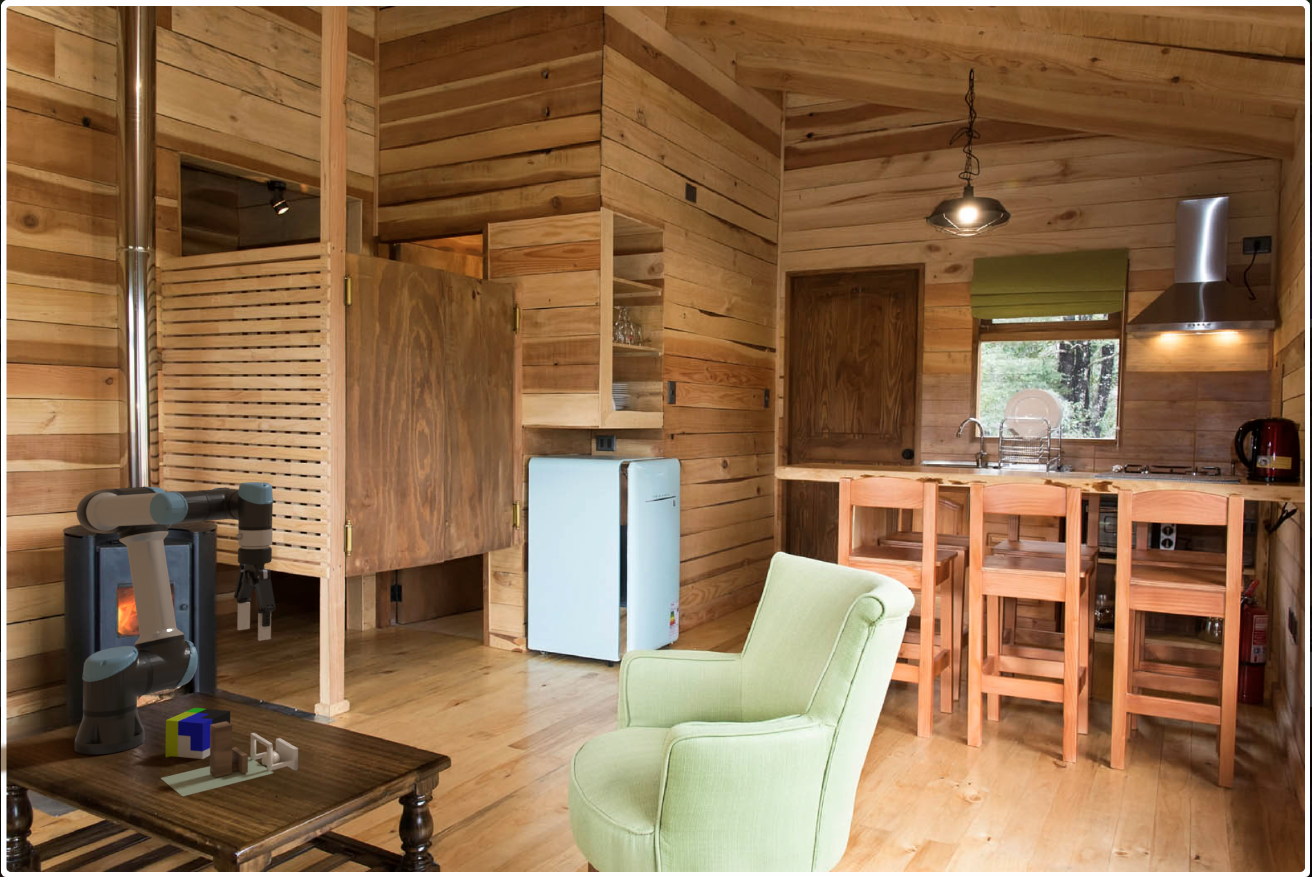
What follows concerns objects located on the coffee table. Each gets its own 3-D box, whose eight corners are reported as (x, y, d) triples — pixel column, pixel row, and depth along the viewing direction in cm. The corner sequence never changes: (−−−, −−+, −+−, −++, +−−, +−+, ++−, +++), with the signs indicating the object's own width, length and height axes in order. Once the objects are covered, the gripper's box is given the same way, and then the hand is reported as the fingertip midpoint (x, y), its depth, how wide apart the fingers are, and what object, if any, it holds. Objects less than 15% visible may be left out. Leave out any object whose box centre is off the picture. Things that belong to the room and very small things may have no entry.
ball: (279, 754, 222) (267, 769, 220) (266, 746, 219) (255, 761, 218) (286, 758, 219) (274, 774, 217) (273, 750, 217) (262, 766, 215)
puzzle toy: (202, 765, 220) (202, 723, 220) (165, 762, 222) (165, 720, 222) (230, 751, 230) (230, 710, 230) (194, 747, 232) (194, 707, 232)
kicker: (207, 771, 211) (207, 723, 211) (235, 764, 216) (236, 717, 216) (218, 779, 207) (219, 730, 206) (247, 772, 211) (248, 724, 211)
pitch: (160, 784, 208) (160, 751, 208) (276, 756, 226) (276, 725, 226) (182, 803, 198) (182, 767, 198) (301, 772, 216) (301, 739, 216)
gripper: (220, 541, 231) (219, 627, 231) (258, 554, 213) (257, 646, 213) (252, 539, 236) (250, 623, 236) (291, 551, 218) (289, 641, 218)
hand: (253, 634), depth 225 cm, fingers open, 13 cm apart
